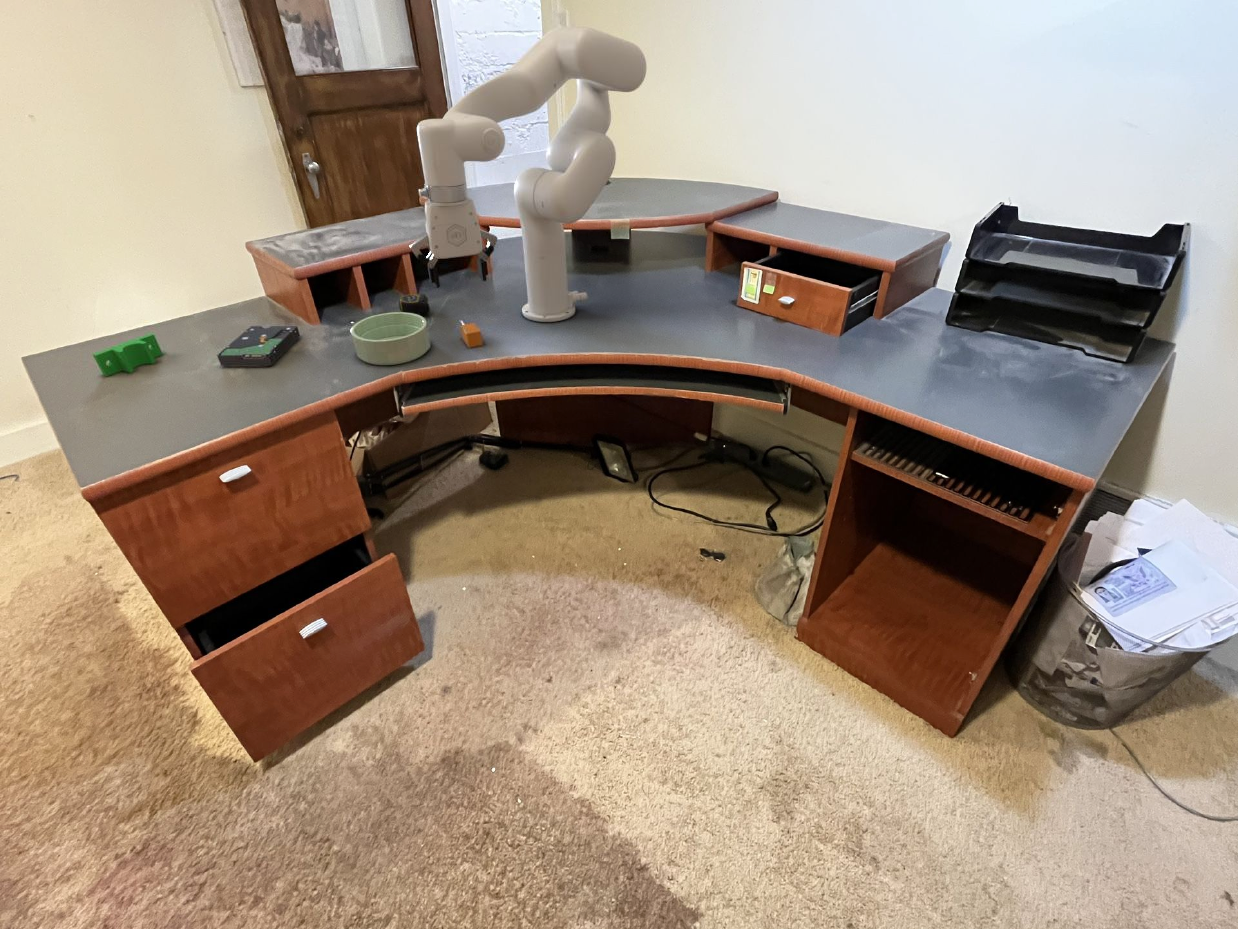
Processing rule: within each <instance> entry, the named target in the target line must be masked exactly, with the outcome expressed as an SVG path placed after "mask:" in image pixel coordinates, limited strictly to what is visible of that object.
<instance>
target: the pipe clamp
mask: <svg viewBox="0 0 1238 929" xmlns="http://www.w3.org/2000/svg"><path fill="white" fill-rule="evenodd" d="M163 353H164V352H163V351H162V349H161V347H160V345H159V342H158V341H157V339H156V336H155V334H153V333H147V334H145V335H142V336H139V337H137V338H134V339H131V340H129V341H125V342H123V343H119V344H118V345H114V346H112V347H109V348H107V349H103V350H101V351H98V352H96V353H93V354H92V356H93V358H94V361H95V362H96V364H97V365H98V368H99V369H100V371H101V373H102V375H103V376H105V377H109V376H111V375H115V374H117V373H119V372H122V371H124V372H125V373H126V372H127V373H130V374H131V373H134V372H135V370H134V369H135V368H137V367H138V366H143V365H146V364H150V365H154V364H156V363H157V361H156V359H155V358H158V357H160V356H164V354H163ZM107 362H108V364H107Z"/></svg>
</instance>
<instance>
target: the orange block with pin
mask: <svg viewBox="0 0 1238 929" xmlns="http://www.w3.org/2000/svg"><path fill="white" fill-rule="evenodd" d="M458 322H459V323H460V324H461V325H460V329H461V335H462V340H463V341H464V342H465V344H466V345H467V347H468V348H475V347H479V346H483V345H484V344H483V338H482V331H481V330H480V328H479V327H478V326H477V324H476V323H475V322H473V323H467V324H466V323H465V321H464V320H463V319H459V320H458Z"/></svg>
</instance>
